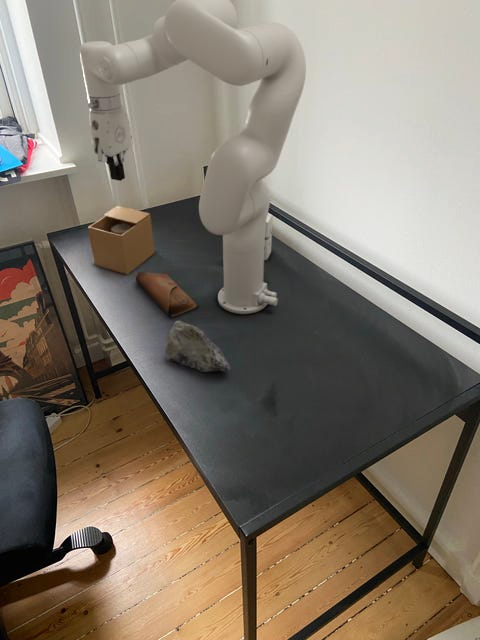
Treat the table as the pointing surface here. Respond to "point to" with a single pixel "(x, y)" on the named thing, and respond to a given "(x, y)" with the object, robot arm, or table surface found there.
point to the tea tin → (120, 228)
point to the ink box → (268, 236)
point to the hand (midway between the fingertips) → (118, 178)
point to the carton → (121, 244)
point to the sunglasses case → (166, 293)
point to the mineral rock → (194, 349)
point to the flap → (126, 214)
